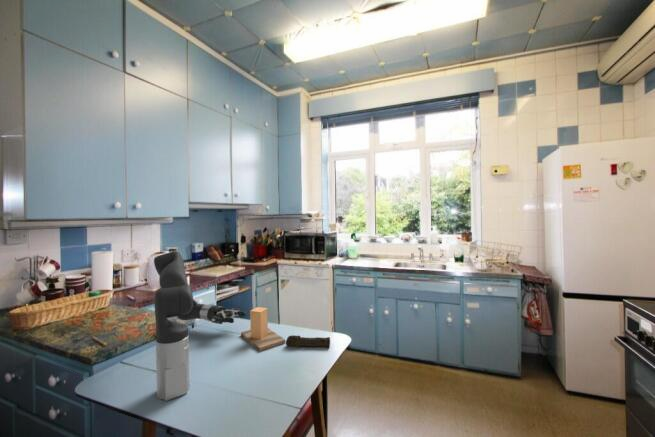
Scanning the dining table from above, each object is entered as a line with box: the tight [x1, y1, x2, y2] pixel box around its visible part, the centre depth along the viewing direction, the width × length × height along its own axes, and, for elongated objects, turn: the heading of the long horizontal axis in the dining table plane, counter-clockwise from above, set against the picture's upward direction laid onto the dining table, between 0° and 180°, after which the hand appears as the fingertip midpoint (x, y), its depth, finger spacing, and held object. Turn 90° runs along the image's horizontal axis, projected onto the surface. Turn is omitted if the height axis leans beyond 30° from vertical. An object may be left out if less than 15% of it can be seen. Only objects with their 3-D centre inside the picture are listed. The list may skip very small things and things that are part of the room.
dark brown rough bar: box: [285, 334, 331, 349], centre depth 121 cm, size 19×4×5 cm, turn 86°
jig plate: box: [240, 328, 286, 352], centre depth 128 cm, size 20×12×5 cm, turn 39°
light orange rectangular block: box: [249, 306, 269, 339], centre depth 128 cm, size 5×5×12 cm
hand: (239, 317), depth 132 cm, fingers open, 8 cm apart
